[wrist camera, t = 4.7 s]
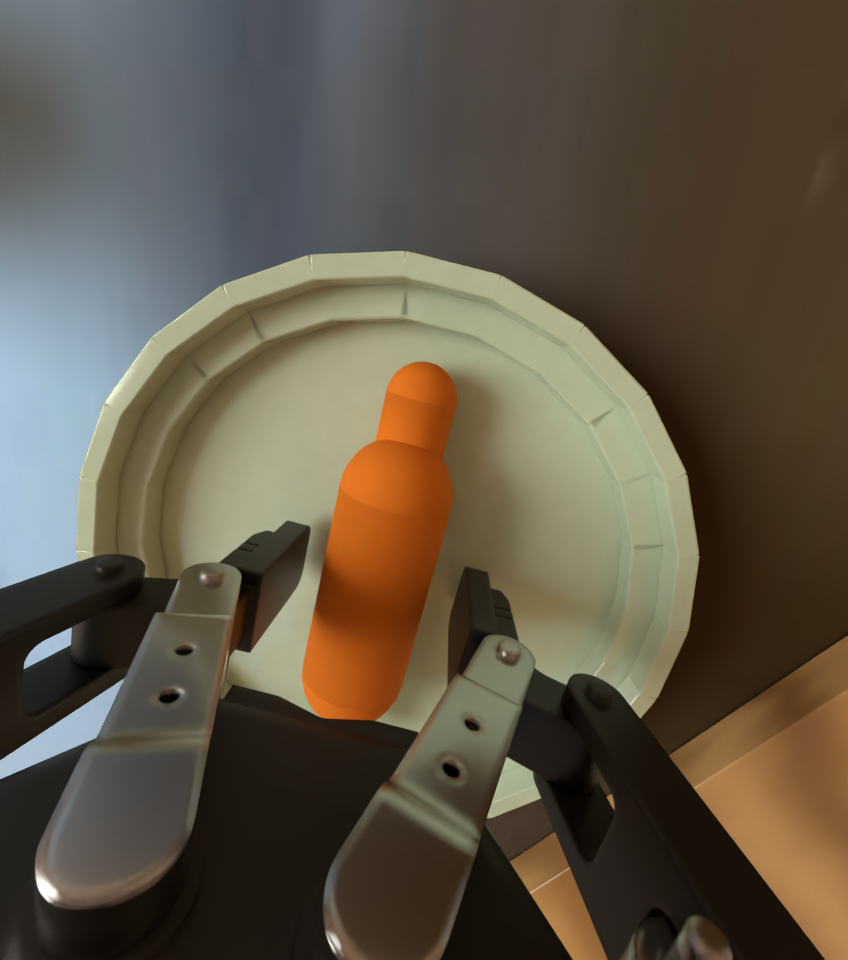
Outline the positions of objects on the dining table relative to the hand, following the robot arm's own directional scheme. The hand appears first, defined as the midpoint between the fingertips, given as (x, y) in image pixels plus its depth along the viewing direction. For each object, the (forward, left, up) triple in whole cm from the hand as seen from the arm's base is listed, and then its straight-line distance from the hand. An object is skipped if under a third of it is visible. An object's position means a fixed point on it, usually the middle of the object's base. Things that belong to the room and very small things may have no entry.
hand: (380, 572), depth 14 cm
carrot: (0, 0, -1) cm, 1 cm away
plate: (0, 0, -1) cm, 1 cm away
